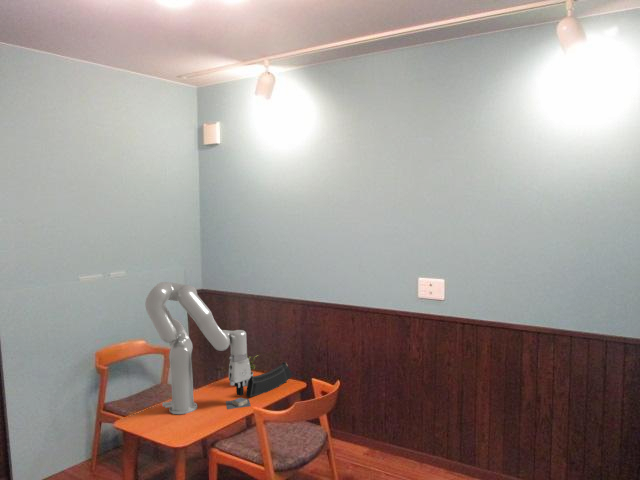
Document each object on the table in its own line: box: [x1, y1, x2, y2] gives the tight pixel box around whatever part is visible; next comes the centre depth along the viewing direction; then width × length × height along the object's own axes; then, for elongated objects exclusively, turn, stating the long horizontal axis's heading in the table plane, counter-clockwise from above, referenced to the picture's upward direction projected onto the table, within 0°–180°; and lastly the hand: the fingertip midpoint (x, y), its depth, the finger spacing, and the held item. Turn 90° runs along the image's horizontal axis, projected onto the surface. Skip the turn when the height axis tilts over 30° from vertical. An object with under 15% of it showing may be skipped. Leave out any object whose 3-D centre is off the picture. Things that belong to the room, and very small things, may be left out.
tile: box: [231, 397, 247, 406], centre depth 233 cm, size 2×5×5 cm
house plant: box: [244, 354, 259, 387], centre depth 259 cm, size 14×14×16 cm
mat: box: [225, 397, 252, 410], centre depth 233 cm, size 11×10×1 cm
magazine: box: [245, 361, 293, 398], centre depth 250 cm, size 17×3×30 cm
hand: (240, 394), depth 233 cm, fingers closed
